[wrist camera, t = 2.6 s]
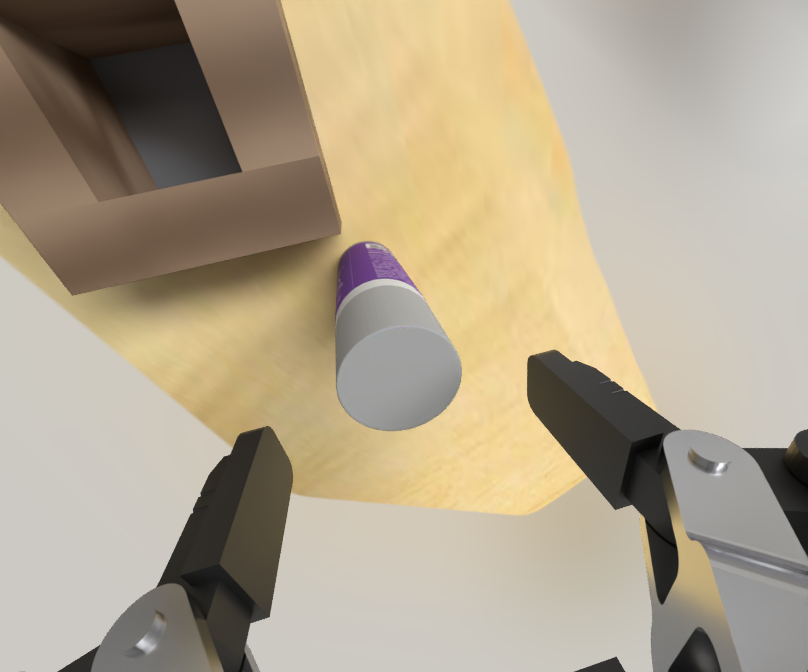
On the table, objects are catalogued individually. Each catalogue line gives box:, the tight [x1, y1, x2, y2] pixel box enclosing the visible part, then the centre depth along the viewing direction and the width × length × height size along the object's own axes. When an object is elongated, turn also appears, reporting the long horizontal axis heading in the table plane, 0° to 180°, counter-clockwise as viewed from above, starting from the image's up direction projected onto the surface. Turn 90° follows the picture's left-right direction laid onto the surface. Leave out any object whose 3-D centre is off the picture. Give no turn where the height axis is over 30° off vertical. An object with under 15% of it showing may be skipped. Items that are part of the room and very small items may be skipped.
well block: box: [0, 0, 341, 296], centre depth 15 cm, size 14×14×6 cm
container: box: [335, 241, 462, 431], centre depth 17 cm, size 5×5×15 cm
